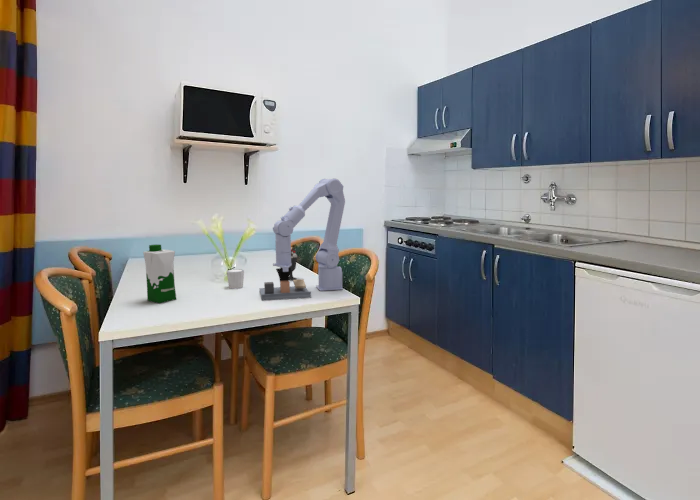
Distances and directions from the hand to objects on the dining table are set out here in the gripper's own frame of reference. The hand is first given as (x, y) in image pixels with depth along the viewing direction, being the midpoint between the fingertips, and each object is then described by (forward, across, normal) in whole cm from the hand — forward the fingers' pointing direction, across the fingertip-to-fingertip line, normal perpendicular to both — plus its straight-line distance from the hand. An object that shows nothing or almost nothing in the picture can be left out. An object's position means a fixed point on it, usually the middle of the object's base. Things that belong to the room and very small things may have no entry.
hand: (284, 287), depth 166 cm
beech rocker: (-1, 0, +6) cm, 6 cm away
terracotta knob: (+1, +3, 0) cm, 3 cm away
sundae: (+3, -27, +6) cm, 27 cm away
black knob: (+1, +4, -6) cm, 7 cm away
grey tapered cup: (+3, -17, -18) cm, 25 cm away
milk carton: (+3, -2, -44) cm, 44 cm away
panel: (+3, +1, 0) cm, 3 cm away
